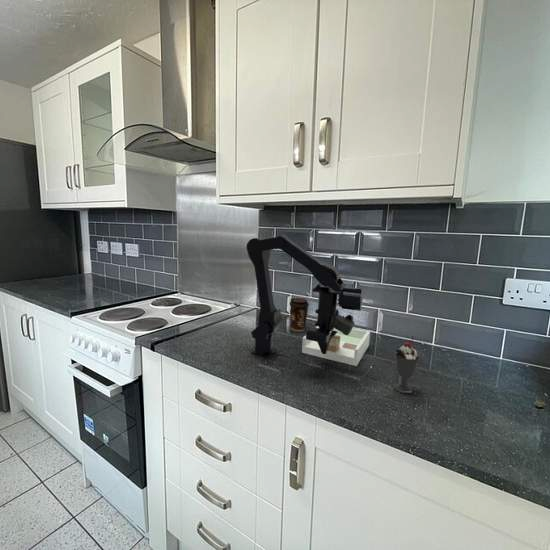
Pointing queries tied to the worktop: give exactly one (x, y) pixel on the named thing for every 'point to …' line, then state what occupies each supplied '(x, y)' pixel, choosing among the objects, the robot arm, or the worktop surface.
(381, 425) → the worktop surface
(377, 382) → the worktop surface
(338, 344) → the block
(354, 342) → the trap box
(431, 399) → the worktop surface
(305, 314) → the coffee cup
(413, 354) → the sundae
